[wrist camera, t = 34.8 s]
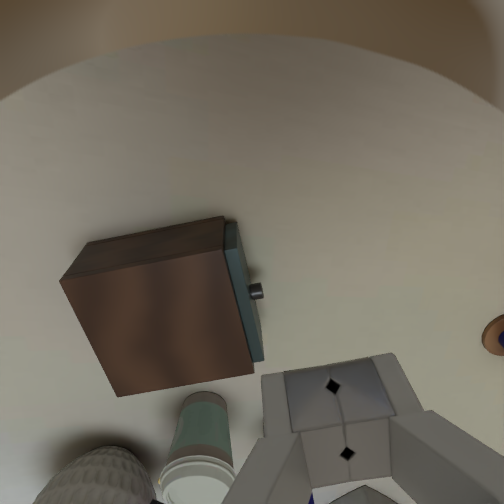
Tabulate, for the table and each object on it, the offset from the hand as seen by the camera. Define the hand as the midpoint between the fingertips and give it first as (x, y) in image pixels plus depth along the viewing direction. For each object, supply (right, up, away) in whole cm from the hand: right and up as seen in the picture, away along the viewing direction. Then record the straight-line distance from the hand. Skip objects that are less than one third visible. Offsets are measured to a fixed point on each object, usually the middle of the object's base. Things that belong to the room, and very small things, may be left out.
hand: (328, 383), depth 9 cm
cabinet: (-10, -1, +35) cm, 37 cm away
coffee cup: (-8, -18, +44) cm, 48 cm away
